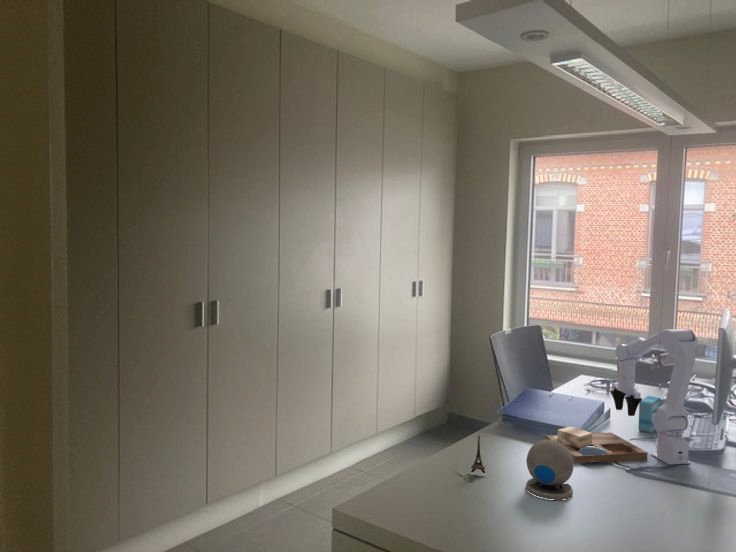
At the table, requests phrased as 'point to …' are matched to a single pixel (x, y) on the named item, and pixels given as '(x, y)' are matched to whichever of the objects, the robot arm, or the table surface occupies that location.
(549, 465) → the webcam
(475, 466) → the eiffel tower figurine
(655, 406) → the data package
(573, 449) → the trap deck
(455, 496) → the table surface
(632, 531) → the table surface
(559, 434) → the birch block
